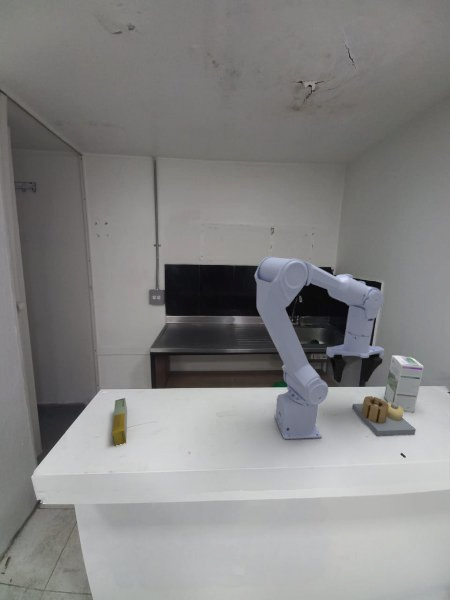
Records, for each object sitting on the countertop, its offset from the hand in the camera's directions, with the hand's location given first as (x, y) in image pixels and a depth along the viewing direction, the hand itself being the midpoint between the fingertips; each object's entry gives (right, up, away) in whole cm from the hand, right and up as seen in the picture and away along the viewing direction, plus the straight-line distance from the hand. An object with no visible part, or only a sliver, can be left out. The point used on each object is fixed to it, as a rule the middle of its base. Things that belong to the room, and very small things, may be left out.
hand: (350, 380), depth 62 cm
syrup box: (+18, -10, +7) cm, 21 cm away
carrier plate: (+8, -11, 0) cm, 14 cm away
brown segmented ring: (+6, -9, 0) cm, 11 cm away
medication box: (-60, -10, -4) cm, 61 cm away
